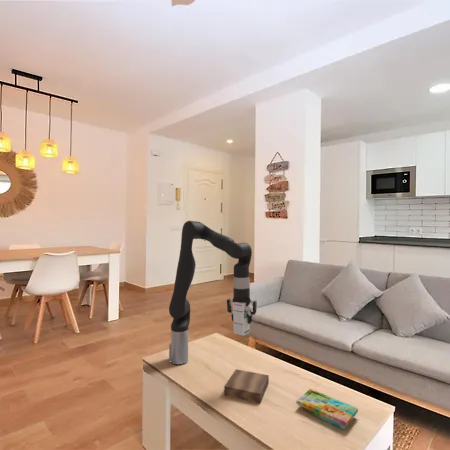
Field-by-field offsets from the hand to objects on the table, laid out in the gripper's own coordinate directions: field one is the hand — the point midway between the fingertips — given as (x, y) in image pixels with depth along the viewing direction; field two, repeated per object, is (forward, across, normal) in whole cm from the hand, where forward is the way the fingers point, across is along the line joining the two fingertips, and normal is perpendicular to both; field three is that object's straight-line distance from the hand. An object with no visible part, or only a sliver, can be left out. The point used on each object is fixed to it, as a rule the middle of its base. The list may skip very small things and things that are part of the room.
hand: (241, 322), depth 142 cm
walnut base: (+29, +3, -3) cm, 29 cm away
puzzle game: (+30, +37, -9) cm, 48 cm away
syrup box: (+5, 0, 0) cm, 5 cm away
